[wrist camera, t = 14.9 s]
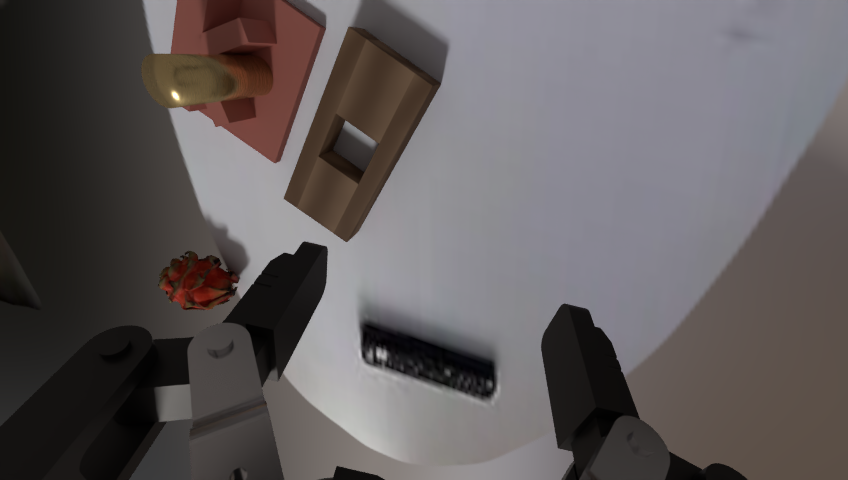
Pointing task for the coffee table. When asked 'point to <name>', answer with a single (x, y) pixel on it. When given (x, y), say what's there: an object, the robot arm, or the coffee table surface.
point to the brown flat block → (370, 113)
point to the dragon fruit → (197, 282)
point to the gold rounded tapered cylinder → (204, 78)
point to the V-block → (253, 35)
